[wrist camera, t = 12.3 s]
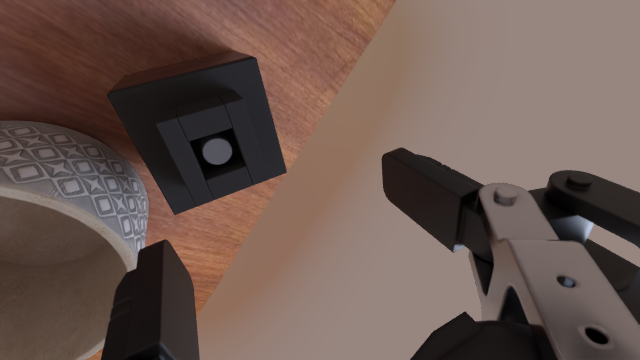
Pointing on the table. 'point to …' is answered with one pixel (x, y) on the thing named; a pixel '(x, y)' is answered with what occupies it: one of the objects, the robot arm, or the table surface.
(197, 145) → the base pad
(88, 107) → the table surface
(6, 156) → the planter
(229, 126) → the top pad
